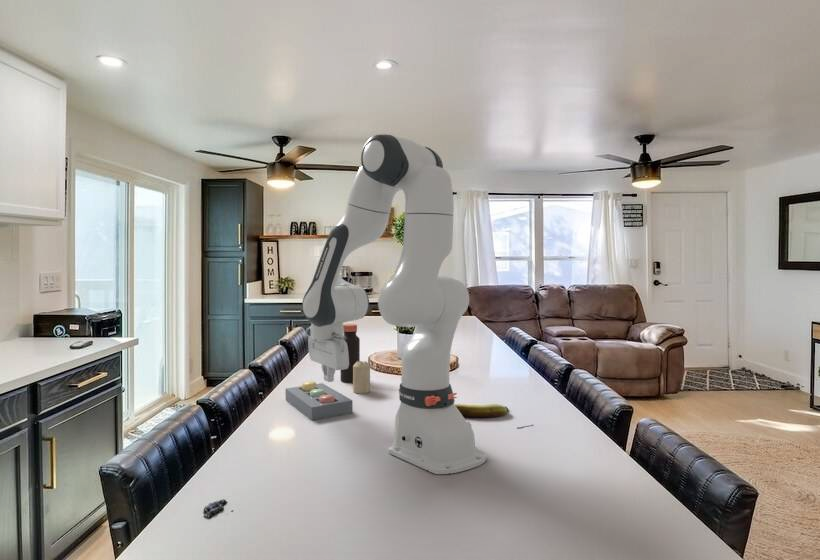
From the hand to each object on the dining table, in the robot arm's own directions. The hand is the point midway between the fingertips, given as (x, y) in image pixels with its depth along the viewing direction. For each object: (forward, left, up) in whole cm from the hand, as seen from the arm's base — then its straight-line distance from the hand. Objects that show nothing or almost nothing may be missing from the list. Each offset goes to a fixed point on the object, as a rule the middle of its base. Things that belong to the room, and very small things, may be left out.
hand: (328, 381), depth 129 cm
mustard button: (+15, 0, -7) cm, 16 cm away
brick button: (+1, 0, -8) cm, 8 cm away
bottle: (+30, -21, -9) cm, 38 cm away
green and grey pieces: (-23, -36, -10) cm, 44 cm away
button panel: (+8, 0, -9) cm, 12 cm away
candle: (+15, -18, -9) cm, 25 cm away
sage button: (+8, 0, -8) cm, 11 cm away
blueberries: (-37, +36, -10) cm, 53 cm away
